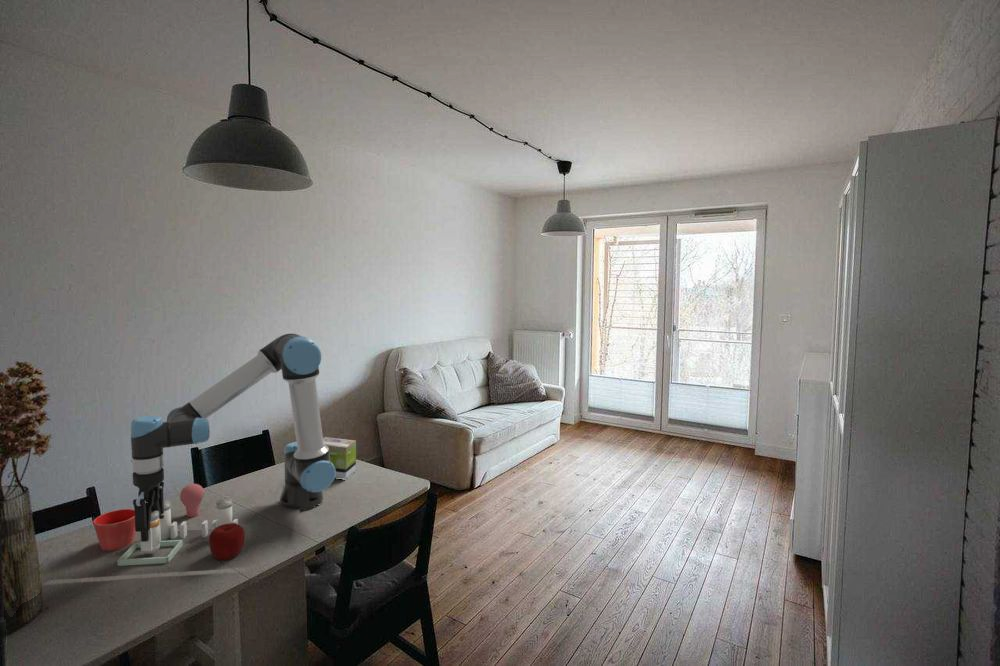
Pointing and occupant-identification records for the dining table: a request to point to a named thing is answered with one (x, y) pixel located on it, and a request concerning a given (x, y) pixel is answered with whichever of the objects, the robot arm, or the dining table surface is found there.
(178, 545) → the tray
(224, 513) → the white rounded cylinder
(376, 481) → the dining table surface
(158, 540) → the cylinder
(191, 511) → the light bulb
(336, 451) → the tea box
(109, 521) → the flower pot
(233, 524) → the apple
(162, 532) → the fuse
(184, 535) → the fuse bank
